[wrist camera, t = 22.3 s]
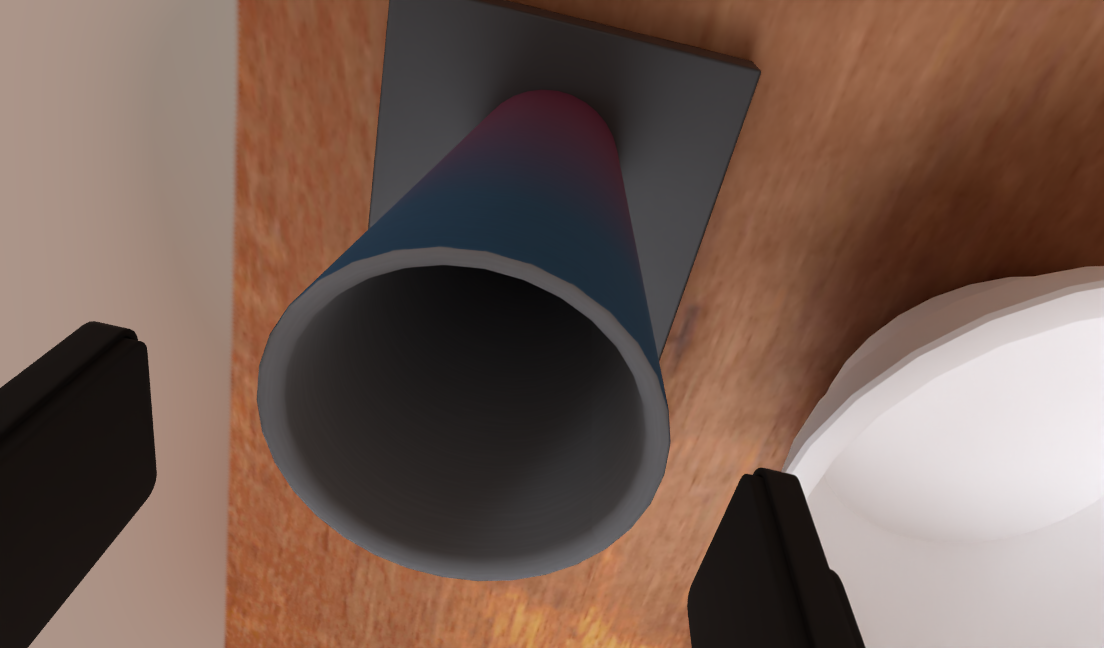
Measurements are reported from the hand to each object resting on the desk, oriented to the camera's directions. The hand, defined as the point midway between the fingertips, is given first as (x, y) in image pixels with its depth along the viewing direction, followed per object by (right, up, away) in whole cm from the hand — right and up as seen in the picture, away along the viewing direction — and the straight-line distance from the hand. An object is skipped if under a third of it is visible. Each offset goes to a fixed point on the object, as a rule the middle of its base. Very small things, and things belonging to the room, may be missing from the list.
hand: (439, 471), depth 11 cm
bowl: (+20, -1, +19) cm, 28 cm away
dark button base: (+1, +5, +17) cm, 18 cm away
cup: (+2, +8, +14) cm, 16 cm away
